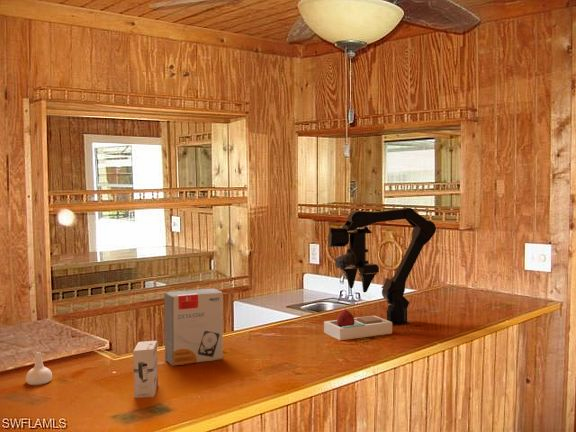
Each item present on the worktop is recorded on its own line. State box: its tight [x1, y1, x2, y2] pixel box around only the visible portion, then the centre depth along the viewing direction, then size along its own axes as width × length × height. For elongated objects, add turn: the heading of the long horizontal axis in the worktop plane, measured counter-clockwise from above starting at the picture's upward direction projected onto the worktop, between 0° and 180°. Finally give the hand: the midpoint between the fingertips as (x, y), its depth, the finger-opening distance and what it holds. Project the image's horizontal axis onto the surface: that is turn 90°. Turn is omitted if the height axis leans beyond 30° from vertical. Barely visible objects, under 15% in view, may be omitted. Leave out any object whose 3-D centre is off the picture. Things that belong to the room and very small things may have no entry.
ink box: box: [132, 340, 159, 399], centre depth 151 cm, size 9×5×12 cm, turn 5°
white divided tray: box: [323, 315, 393, 341], centre depth 206 cm, size 20×11×4 cm, turn 114°
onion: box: [336, 307, 355, 327], centre depth 203 cm, size 6×6×8 cm
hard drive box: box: [163, 287, 224, 367], centre depth 177 cm, size 16×8×20 cm, turn 117°
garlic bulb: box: [25, 351, 53, 386], centre depth 159 cm, size 6×6×8 cm
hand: (357, 290), depth 217 cm, fingers open, 9 cm apart
